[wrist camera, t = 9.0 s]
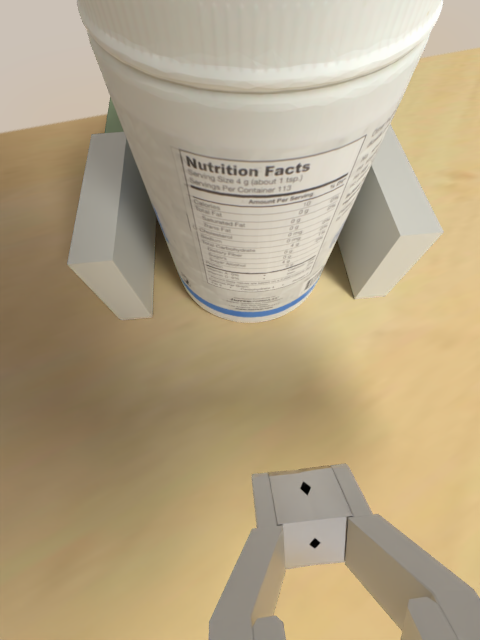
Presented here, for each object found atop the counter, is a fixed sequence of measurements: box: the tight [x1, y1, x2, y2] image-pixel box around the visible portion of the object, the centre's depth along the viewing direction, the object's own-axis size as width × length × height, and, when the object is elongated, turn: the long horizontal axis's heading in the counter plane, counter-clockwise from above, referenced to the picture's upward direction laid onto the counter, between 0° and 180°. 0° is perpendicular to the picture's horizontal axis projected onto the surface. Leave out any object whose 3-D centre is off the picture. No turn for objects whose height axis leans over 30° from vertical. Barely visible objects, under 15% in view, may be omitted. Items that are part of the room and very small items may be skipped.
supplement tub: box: [77, 0, 443, 323], centre depth 13 cm, size 10×10×15 cm
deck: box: [67, 97, 443, 320], centre depth 18 cm, size 18×18×9 cm
